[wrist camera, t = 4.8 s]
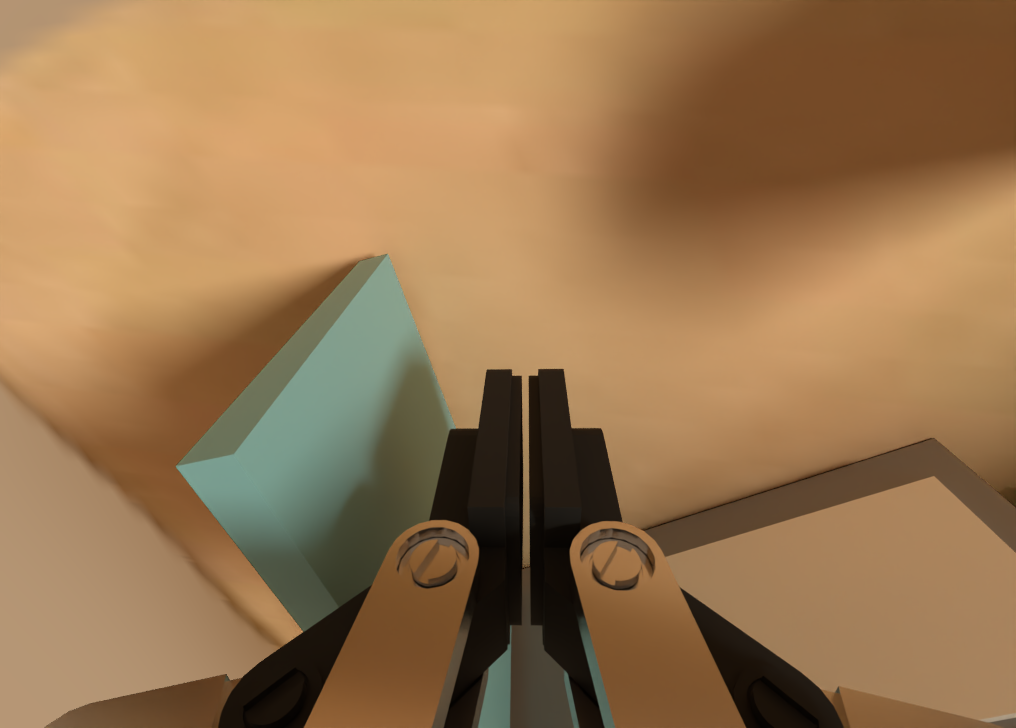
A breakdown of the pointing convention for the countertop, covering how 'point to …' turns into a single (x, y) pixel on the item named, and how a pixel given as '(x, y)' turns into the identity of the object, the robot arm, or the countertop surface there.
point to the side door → (334, 455)
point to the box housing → (845, 586)
